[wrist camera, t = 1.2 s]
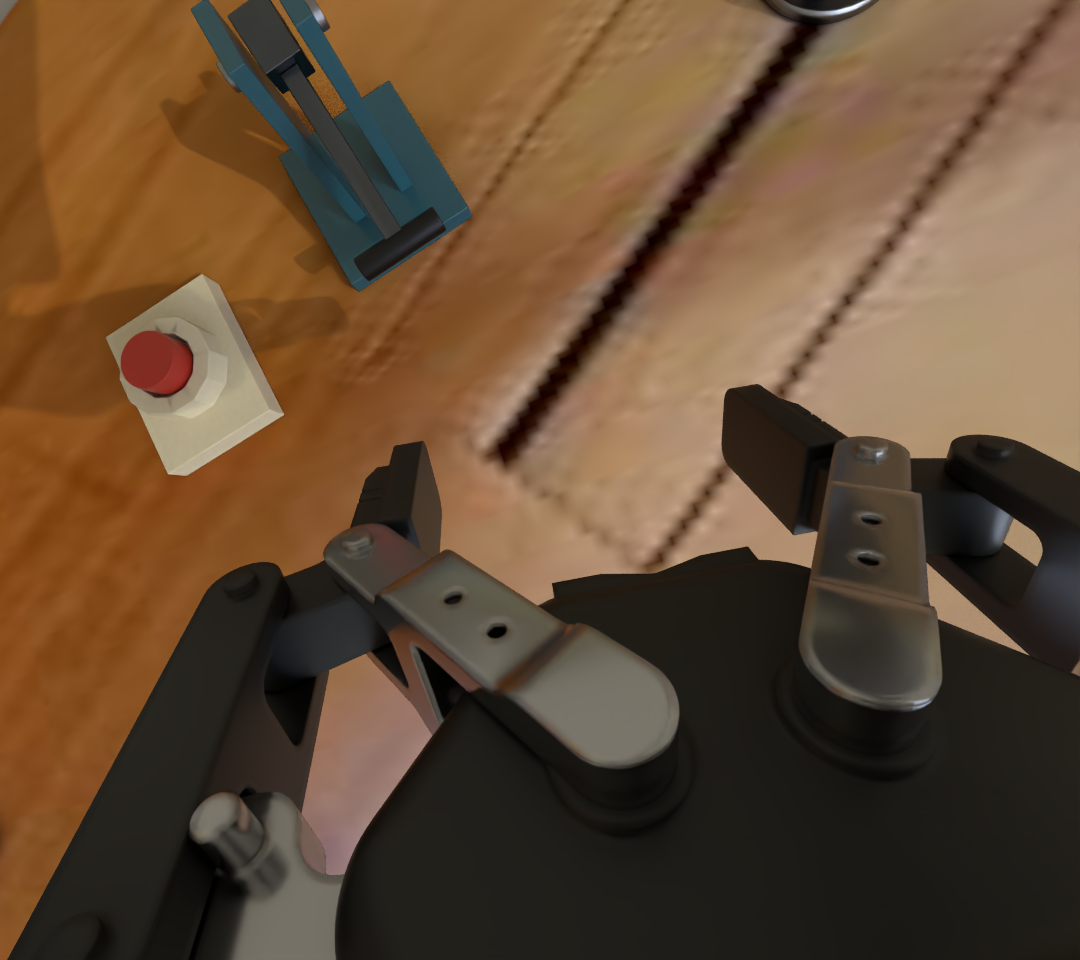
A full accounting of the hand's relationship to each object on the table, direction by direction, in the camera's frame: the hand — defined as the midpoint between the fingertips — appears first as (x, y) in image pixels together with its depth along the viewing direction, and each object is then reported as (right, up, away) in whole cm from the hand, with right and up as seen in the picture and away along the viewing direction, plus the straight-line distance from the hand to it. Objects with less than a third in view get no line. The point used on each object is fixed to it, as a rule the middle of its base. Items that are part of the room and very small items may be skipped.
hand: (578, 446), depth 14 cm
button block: (-27, +7, +26) cm, 38 cm away
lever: (-12, +18, +16) cm, 27 cm away
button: (-27, +7, +23) cm, 36 cm away
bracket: (-13, +21, +25) cm, 35 cm away
